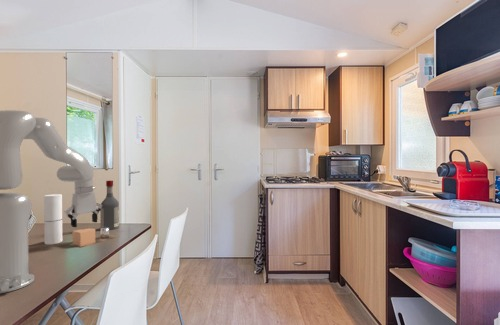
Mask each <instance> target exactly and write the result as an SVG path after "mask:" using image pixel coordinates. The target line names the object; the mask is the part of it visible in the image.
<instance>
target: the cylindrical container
mask: <svg viewBox="0 0 500 325" xmlns="http://www.w3.org/2000/svg"><path fill="white" fill-rule="evenodd" d="M43 214H44V215H43V221H44V222H43V223H44V231H43V232H44V234H43V235H44V244H45V245H54V244H55V245H56V244H59V243H61V242H63V194H62V193H61V194H59V193H53V194H45V195H43Z"/></svg>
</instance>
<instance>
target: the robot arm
mask: <svg viewBox="0 0 500 325" xmlns="http://www.w3.org/2000/svg"><path fill="white" fill-rule="evenodd" d="M24 140H32V141H34V143H35V144H36V146H38V148H39V149H40V150H41V152H42V153H43V154H44V156H45V157H46V158H49V159H51V160H54V161H57V162H60V163H64V164H66V165H63V166H61V167H60V168H59V167H58V169H57V171H56V177H57V179H58V180H60V181H61V182H64V183H65V182H66V183H70V182H71V183H74V193H72V196H71V202H70V207H69V208H67V209H65V210H64V211H63V213H64V214H65V216H66V217H68V218H69V219H70V225H71V227H72V228H77V227H78V223H77V222H78V221H77V220H78V219H77V217H78V215H83V214H88V213H92V214H91V219H92V220H91V222H92V223H98V215H99V213H100V210H101V207H102V205H101V203H98V202H97V198H96V194H95V191H94V190H95V189H96V186H94V183H93V182H94V181H93V177H94V169H93V167H92V165H91V164H90V162H89V160H88V159H87V157H85V155H83V154H81V153H80V152H78V151H77V150H75V149H73V148H71V147H69V146H68V145H67V144H66V143H65V140H64V139H63V138H62V136H61V134H60V133H59V132H58V130H57V129H56V127H55V126H54V124H53V123H52V121H50V120H49V119H47V118H45V117H44V118H43V117H35V115H34V114H33V113H31V112H29V111H25V110H13V109H12V110H8V109H7V110H0V191H3V190H4V191H5V190H14V189H16V188H18V187H20V186H21V184H22V182H23V168H22V162H21V161H22V159H21V145H22V143H23V141H24ZM32 209H33V208H32V200H31V199H30V197H29V196H28V195H26V194H23V193H18V192H0V294H5V293H9V292H13V291H16V290H19V289H22V288H25V287H27V286H28V285H30V284H31V283H33V282H34V281H35V275H34V274H33V273H29V272H30V270H29V268H30V267H29V222H30V215H31V212H32Z"/></svg>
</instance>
